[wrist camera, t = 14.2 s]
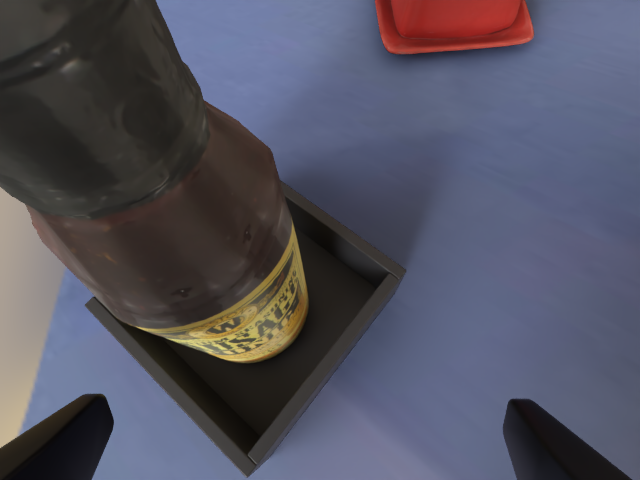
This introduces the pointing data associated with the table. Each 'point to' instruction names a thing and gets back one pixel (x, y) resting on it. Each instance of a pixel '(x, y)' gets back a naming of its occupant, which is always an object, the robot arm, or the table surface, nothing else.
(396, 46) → the butter dish
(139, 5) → the sauce bottle
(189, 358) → the bin
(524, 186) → the table surface
